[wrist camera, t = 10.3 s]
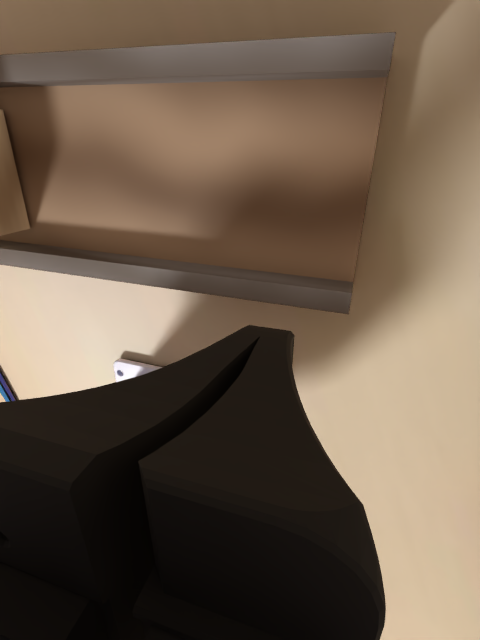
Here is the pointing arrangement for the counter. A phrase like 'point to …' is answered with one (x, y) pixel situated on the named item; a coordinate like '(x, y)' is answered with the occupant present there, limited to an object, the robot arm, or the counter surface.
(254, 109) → the guide track
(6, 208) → the beige box
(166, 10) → the counter surface
